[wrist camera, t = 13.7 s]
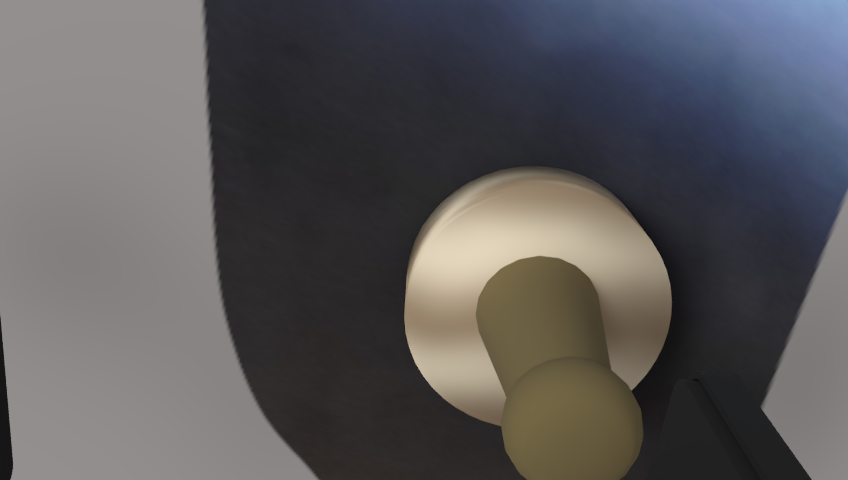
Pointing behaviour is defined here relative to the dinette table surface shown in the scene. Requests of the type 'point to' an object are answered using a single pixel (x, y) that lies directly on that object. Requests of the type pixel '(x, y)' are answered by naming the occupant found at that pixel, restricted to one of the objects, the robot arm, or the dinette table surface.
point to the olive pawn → (557, 374)
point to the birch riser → (522, 238)
